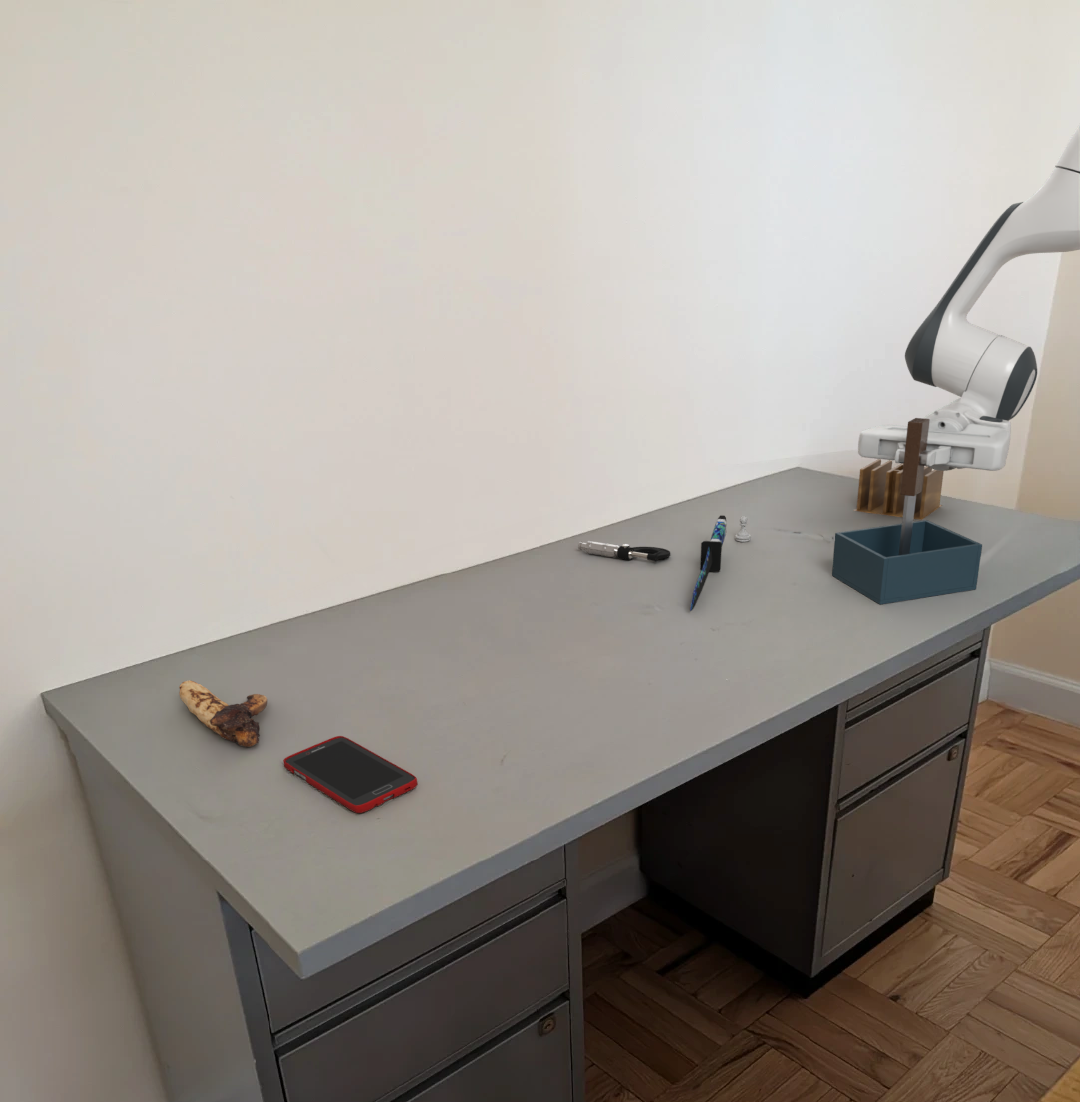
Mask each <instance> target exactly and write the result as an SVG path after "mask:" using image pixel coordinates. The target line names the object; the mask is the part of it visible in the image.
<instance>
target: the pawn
mask: <svg viewBox="0 0 1080 1102" xmlns="http://www.w3.org/2000/svg"><path fill="white" fill-rule="evenodd" d="M739 526H740V530H739V531H738V532H737V533H736V534H735V535H734V540H735V541H736V542H739V543H748V542H750V541H751V538H752V535H751V534H750V533H749V532H748V531H747V529H746V526H748V518H747V516H744V515H743V516H741V517H739Z"/></svg>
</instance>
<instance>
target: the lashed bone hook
mask: <svg viewBox="0 0 1080 1102" xmlns="http://www.w3.org/2000/svg"><path fill="white" fill-rule="evenodd" d="M178 689H179V695H178V696H179V697H180V699H181V701H182V702H183V703H184V704H185V706H187V709H188V710H189V712H190V713H192V714H193V715H195V716H196V718H197V719H198V720H199V721H200V722H201V723H203V724H204V725H205V726H206V727H207V728H208V729H210V730H212V731H213V732H215V734H218V735H219V736H220V737H221V738H223V739H225V740H226V741H230V742H232V743H236V744H238V746H241V747H245V748H249V747H250V748H251V747H254V746H255V745H257V744H259V742H260V736H261V735H260V722H258V721H256V720H254V718H253V717H255V716H256V717H257V715H259V714H260V713H261V712H263V711H264V710H265V709H266V707H267V705H268V697H267V696H266V695H264V694H259V693H253V694H249V695H246V699H247V700H246V701H243V702H242V703H233V704H228V703H227V702H225V701H223V700H222V699H220V698H219V697H217V696H216V694H213V692H212V691H210V690H209V689H208V688H206V687H205V686H203V685H202V684H200V683H197V682H196V681H194V680H185V681H182V682H181V684H180V685H179V688H178Z"/></svg>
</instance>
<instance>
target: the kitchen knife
mask: <svg viewBox="0 0 1080 1102" xmlns="http://www.w3.org/2000/svg"><path fill="white" fill-rule="evenodd" d="M923 418H924V417H923ZM923 418H921V417H915V418H913V419H911V420H909V421H907V425H906V426H907V436H906V445H905V455H904V464H903V473H902V483H901V492H900V495H906V496H905V500H904V509H903V517H901V523H902V528H901V537H900V546H899V555H905V554H910V545H911V536H912V527H913V522H914V520H915V519H914V510H915V501H916V495H917V494H918V493H920V492H921V491H922V482H923V473H924V467H925V466H921V465H919V462H920V460H921V459H920V455H921V453H922V452H923V451H925V450H926V447H927V439H928V430H929V421H930V419H923Z"/></svg>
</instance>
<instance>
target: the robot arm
mask: <svg viewBox="0 0 1080 1102" xmlns="http://www.w3.org/2000/svg"><path fill="white" fill-rule="evenodd" d="M1079 250H1080V123H1079V124H1078V126H1077V128H1076V129H1075V130H1074V132H1073V134H1072V135H1071V137H1070V139H1069V140H1068V142H1067V143H1066V145H1065V147H1064V149H1063V150H1062V152H1061V154H1060V156H1059V158H1058V159H1057V162H1056V163H1055V165H1054V167H1053V169H1052V171H1051V173H1050V174H1049V176H1048V178H1047V179H1046V180H1045V181H1044V183H1043V184H1042V185H1041V186H1040V188H1038V190H1037V191H1035V193H1033V194H1032V195H1031V196H1030V197H1028V198H1027V199H1026V200H1024V201H1021V202H1016V203H1013V204H1011V205H1010V206H1008V207H1007V208H1006V209H1005V210H1004V211H1003V213H1002V214H1001V215H1000V216H999V217H998V218H997V219H996V221H995V222H994V223H993V225H992V226H990V228H989V230H988V231H987V232H986V233H985V235H984V237H983V238H982V239H981V241H980V242H979V244H978V245H977V246H976V248H975V250H973V252H972V253H971V254H970V256H969V258H968V259H967V261H966V262H965V264H964V265H963V267H961V269H960V271H959V272H958V273H957V275H956V277H955V278H954V279H953V281H952V282H951V284H950V285H949V287H948V288H947V289H946V291H945V293H944V294H943V296H942V297H941V298H940V299H939V301H938V303H937V304H936V305H935V307H933V309H932V310H931V311H930V313H929V314H928V315H927V316H926V318H925V319H924V320H923V321H922V323H921V324H920V326H918V328H917V329H916V330H915V332H914V333H913V335H912V336H911V338H910V340H909V341H908V344H907V346H906V349H905V352H904V360H905V363H906V364H905V365H906V367H907V369H908V372H909V374H910V376H911V378H912V379H913V381H915V382H919V383H921V384H925V385H928V386H931V387H934V388H936V387H937V388H939V389H940V390H941V389H942V390H944V391H945V392H949V393H950V394H953V395H955V396H958V399H955V400H953V401H951V402H950V403H948V404H946V405H943V406H941V407H940V408H938V409H935V410H934V411H932V412H930V413H928V414H927V415H925V416H924V417H923V419H930V421H929V430H928V439H927V447H926V450H925V451H923V452H922V453H921V455H920V459H921V460H920V462H919V465H921V466H924V467H926V466H928V467H930V468H932V470H939V471H944V472H948V471H952V470H955V469H957V470H962V469H972V470H982V471H989V472H994V471H996V472H997V471H1000V470H1002V469H1003V468H1004V467H1005V466H1006V463H1007V460H1008V459H1007V458H1008V455H1009V450H1010V445H1011V435H1012V422H1011V421H1010V420H1012V419H1014V418H1015V417H1016V416H1017V415H1018V414H1019V413H1020V411H1021V410H1022V408H1023V407H1024V405H1025V404H1026V402H1027V400H1028V399H1029V397H1030V395H1031V393H1032V391H1033V388H1034V387H1035V383H1036V381H1037V377H1038V364H1037V358H1036V354H1035V352H1034V350H1033V348H1032V347H1031V346H1028V345H1026V344H1025V343H1022V342H1020V341H1017V340H1015V339H1013V338H1010V337H1007V336H1005V335H1004V334H1003V335H1002V334H998V333H996V332H993V331H990V330H988V329H986V328H983V327H981V326H978V325H976V324H973V323H971V322H970V321H969V320H968V319H967V316H968V314H969V312H970V311H971V310H972V308H973V307H974V305H975V304H976V303H977V301H978V300H979V298H980V297H981V296H982V294H983V293H984V291H985V290H986V289H987V287H988V286H989V284H990V283H991V282H992V280H994V279H993V278H994V277H995V276H996V274H997V273H998V272H999V271H1000V269H1001V268H1002V267H1003V266H1004V265H1006V264H1007V263H1008V262H1010V261H1012V260H1014V259H1016V258H1018V257H1021V256H1025V255H1033V254H1048V253H1049V254H1052V253H1054V254H1055V253H1069V252H1074V251H1079ZM959 397H960V398H959ZM907 426H908V425H899V424H881V425H876V426H872V427H870V428H867V429H864V430H862V431H860V433H859V436H858V442H857V454H858V455H859V456H860V457H861V458H866V459H876V460H878V459H881V460H887V461H889V460H892V461H894V463H895V464H901V463H902V464H904V455H905V445H906V436H907Z"/></svg>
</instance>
